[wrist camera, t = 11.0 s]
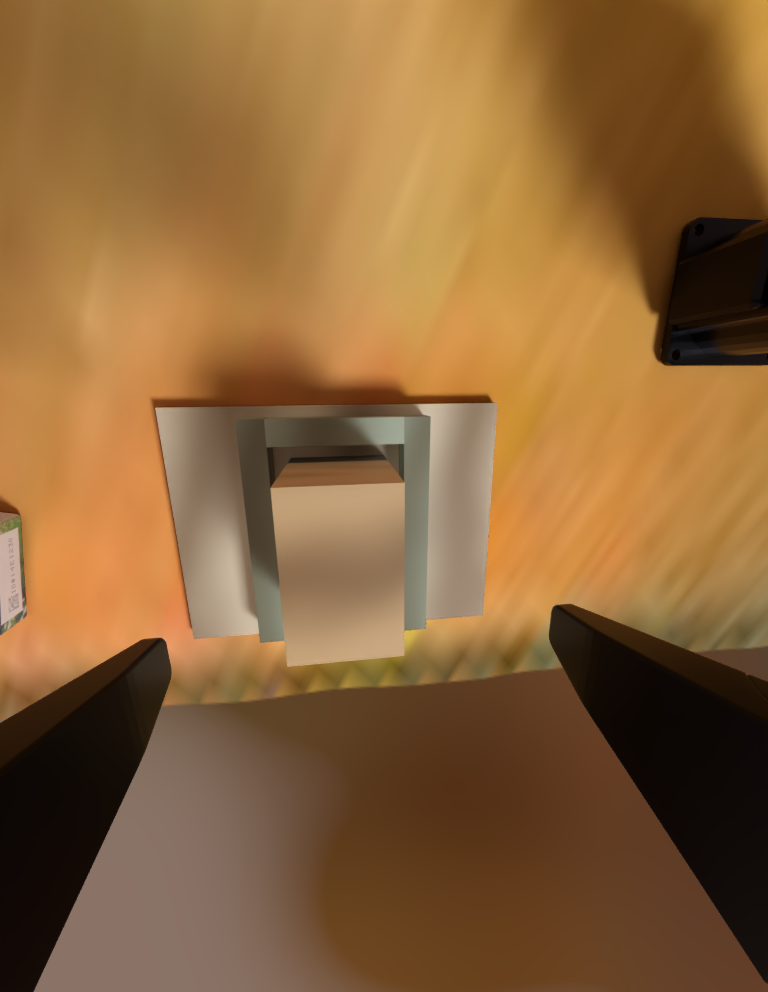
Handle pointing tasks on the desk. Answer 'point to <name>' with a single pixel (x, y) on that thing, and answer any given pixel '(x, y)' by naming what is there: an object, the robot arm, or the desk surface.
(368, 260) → the desk surface
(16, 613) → the syrup box
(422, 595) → the socket plate
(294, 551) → the plug block
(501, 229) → the desk surface
